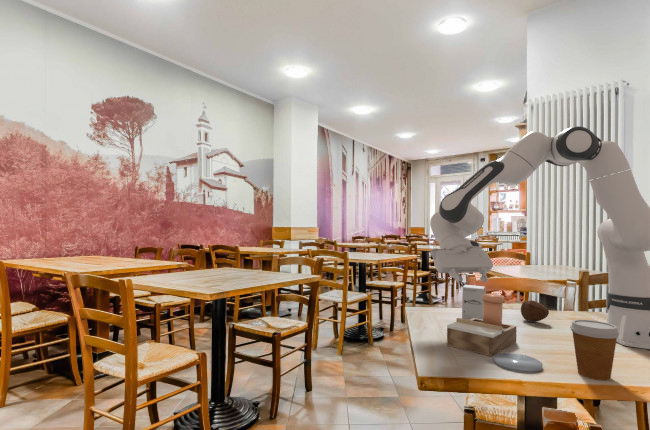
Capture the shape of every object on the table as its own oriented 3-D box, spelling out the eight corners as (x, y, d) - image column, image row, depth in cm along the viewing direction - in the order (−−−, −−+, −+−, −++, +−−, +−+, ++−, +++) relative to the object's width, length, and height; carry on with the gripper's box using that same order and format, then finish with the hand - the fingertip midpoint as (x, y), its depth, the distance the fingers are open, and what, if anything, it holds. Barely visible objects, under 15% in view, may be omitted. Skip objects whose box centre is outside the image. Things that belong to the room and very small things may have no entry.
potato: (526, 318, 146) (526, 297, 146) (553, 324, 137) (553, 302, 138) (515, 320, 142) (515, 299, 142) (541, 326, 134) (541, 304, 134)
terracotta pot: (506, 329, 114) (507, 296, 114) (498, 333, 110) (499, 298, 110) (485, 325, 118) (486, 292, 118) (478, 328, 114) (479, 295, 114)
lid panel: (502, 333, 106) (502, 326, 106) (492, 337, 101) (492, 330, 101) (457, 323, 115) (458, 317, 115) (447, 327, 111) (447, 321, 111)
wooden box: (516, 342, 114) (516, 326, 114) (492, 356, 101) (492, 337, 101) (473, 333, 123) (473, 318, 123) (447, 345, 110) (447, 327, 111)
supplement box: (461, 321, 139) (461, 286, 139) (464, 317, 146) (464, 284, 146) (483, 324, 136) (483, 288, 136) (485, 319, 142) (485, 285, 142)
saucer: (548, 364, 96) (548, 360, 96) (534, 376, 88) (534, 372, 88) (502, 353, 104) (502, 350, 104) (486, 363, 96) (486, 359, 96)
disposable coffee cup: (560, 367, 94) (560, 319, 94) (597, 367, 95) (597, 319, 95) (590, 384, 85) (590, 329, 85) (630, 383, 85) (630, 329, 86)
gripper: (432, 242, 128) (448, 275, 118) (484, 243, 133) (504, 274, 124) (425, 255, 132) (440, 287, 123) (476, 254, 138) (494, 286, 128)
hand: (472, 281), depth 123 cm, fingers open, 8 cm apart
